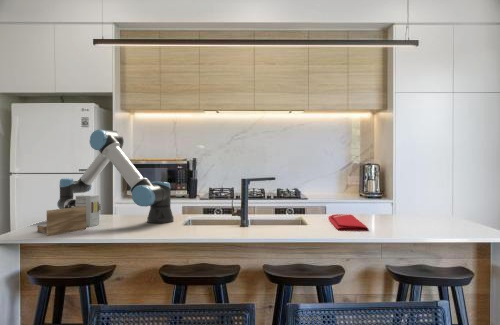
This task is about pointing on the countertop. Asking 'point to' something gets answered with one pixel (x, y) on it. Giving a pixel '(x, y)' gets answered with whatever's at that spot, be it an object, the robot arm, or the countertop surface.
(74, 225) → the box
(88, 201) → the supplement box
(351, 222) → the dish drying mat
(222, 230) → the countertop surface
